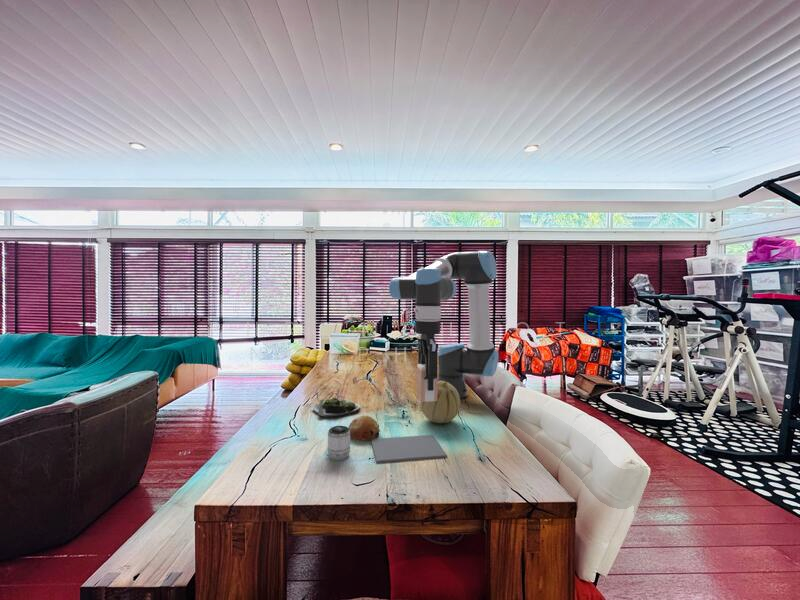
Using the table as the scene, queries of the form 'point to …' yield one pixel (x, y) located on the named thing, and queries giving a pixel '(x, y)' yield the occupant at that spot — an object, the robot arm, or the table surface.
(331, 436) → the camera lens
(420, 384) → the block
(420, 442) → the mat
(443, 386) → the cantaloupe
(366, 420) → the bread roll
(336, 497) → the table surface
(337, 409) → the salad plate
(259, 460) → the table surface
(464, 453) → the table surface
